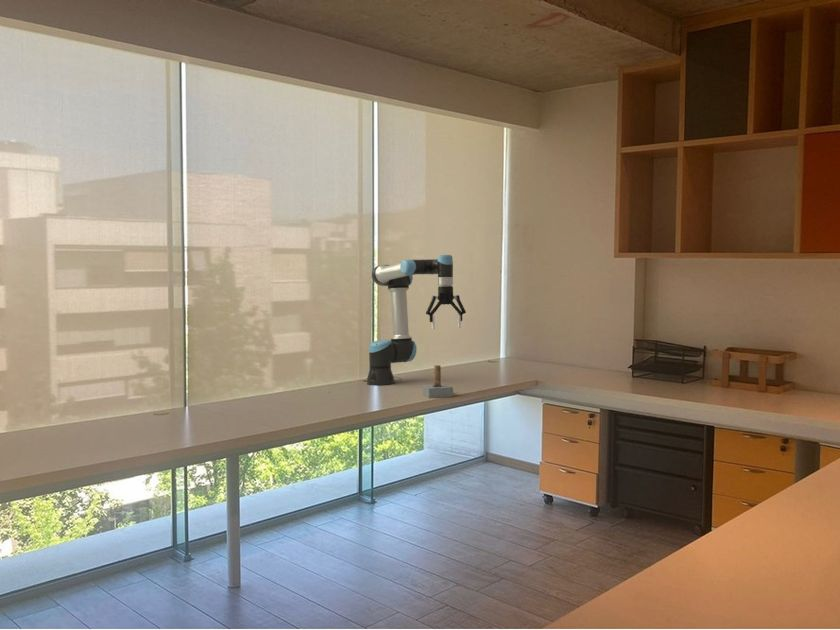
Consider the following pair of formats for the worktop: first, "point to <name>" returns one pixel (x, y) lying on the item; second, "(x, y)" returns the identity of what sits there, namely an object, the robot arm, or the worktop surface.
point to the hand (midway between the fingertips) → (446, 328)
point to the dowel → (437, 375)
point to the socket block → (437, 391)
